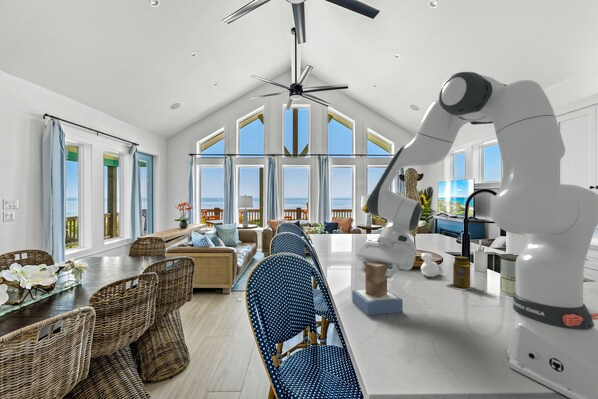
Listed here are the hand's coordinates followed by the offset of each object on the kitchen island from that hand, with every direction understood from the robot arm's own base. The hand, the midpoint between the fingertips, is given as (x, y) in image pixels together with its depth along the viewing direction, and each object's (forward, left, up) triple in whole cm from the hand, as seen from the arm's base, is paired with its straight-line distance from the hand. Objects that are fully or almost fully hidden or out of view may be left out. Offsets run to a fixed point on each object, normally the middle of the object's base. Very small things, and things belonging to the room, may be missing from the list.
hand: (375, 274), depth 94 cm
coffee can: (0, -58, -11) cm, 59 cm away
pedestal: (0, -1, -11) cm, 11 cm away
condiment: (+12, -44, -11) cm, 47 cm away
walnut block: (0, -1, -7) cm, 7 cm away
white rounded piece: (+30, -43, -11) cm, 53 cm away
